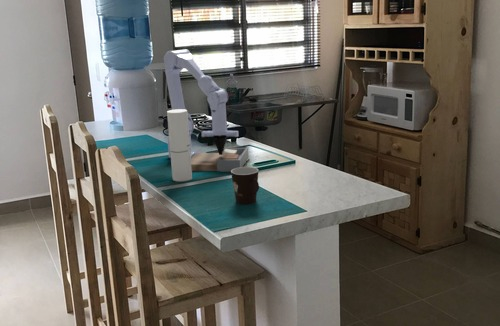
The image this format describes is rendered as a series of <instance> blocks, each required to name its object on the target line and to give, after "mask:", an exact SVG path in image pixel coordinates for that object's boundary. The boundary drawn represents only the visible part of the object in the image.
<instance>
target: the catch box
mask: <svg viewBox="0 0 500 326" xmlns="http://www.w3.org/2000/svg"><path fill="white" fill-rule="evenodd" d="M225 149H231V150H237V155H239V159H238V160H224V158H223V160H221V159H217V171H216V172H224V173H225V172H230V173H231V170H232V169H235V168H239V167H244V166H245V165H246V163H247V162H246V161H248V160H249V159H248V158H249V147H226V148H225ZM247 159H248V160H247ZM245 162H246V163H245ZM244 164H245V165H244ZM243 165H244V166H243Z"/></svg>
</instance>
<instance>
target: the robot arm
mask: <svg viewBox="0 0 500 326" xmlns="http://www.w3.org/2000/svg"><path fill="white" fill-rule="evenodd" d="M163 63H164V67H165V68H164V72H165V77H166V83H167V89H168V95H169V100H170V106H171V110H175V109H185V110H186V105H185V101H184V100H185V99H184V95H183V88H182V87H183V86H182V82H181V78H180V74H181V72H182V70H183V69H186V71H187V72H189V73H190V75H192V77H193V78H194V79H195V80H196V81H197V85H198V87H199V88H200V89H201V91H202V92H203V93H204V94H205V96H206V97H207V98H206V99H207V103H208V105H209V109H210V111H211V128H212V130H202V131H201V138H205V137H212V141H213V143H214V144H215V147H216V149H217V153H219V155H222V152H223V151H224V149H225V145H226V143H227V139H228V137H235V138H238V137H239V130H230V129H229V130H228V125H227V124H228V123H227V109H226V107H227V105H226V103H228V101H229V94H228V91H227V90H226V89H225V88H221V87H219V85H217V83H216V82H215V81H214V79H213V78H212V76H209V75H205V74H204V73H203V71H202V70H201V69H200V67H199V66H198V64H197V62H195V60H194V56H193V54H192V53H191V52H190V50H189V49H186V48H183V49H177V50H168V51H166V52H165V54H164V56H163ZM187 113H188V127H189V140H190V154H191V157H192V156H193V155H194V154H195V153H196V152H195V151H193V150H192V138H191V135H192V134H193V131H194V130H195V129H194V128H195V125H194V124H195V123H194V121H193V119H192V117H191V116H192V115H191V114H190V113H189V112H187ZM167 149H168V150H167V151H168V157H167V158H170V159H171V154H170V142H169V136H168V137H167Z"/></svg>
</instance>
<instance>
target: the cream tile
mask: <svg viewBox="0 0 500 326" xmlns="http://www.w3.org/2000/svg"><path fill="white" fill-rule="evenodd" d="M225 155H237V150H231V149H226V148H224V151H223V152H222V158H224V157H225Z"/></svg>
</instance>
